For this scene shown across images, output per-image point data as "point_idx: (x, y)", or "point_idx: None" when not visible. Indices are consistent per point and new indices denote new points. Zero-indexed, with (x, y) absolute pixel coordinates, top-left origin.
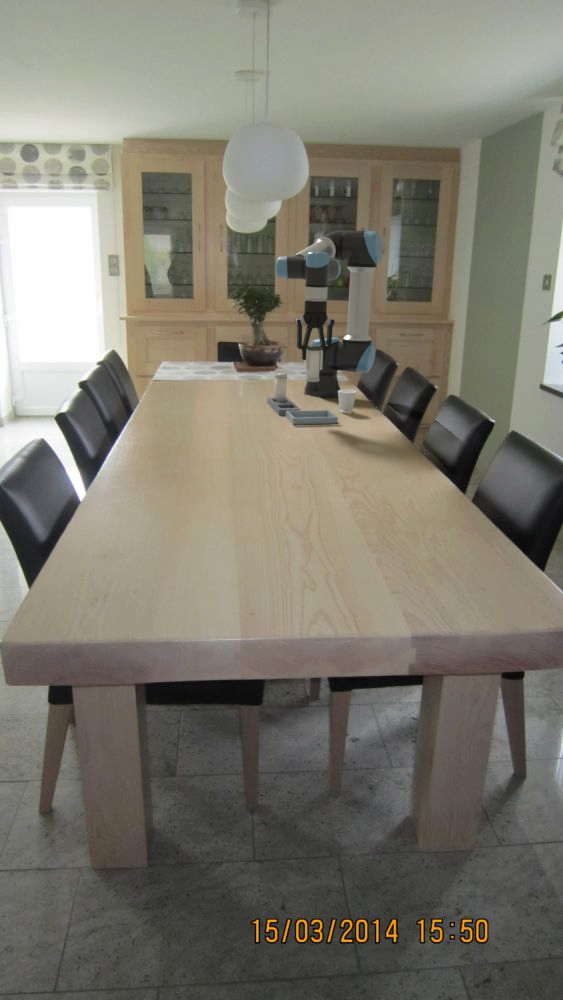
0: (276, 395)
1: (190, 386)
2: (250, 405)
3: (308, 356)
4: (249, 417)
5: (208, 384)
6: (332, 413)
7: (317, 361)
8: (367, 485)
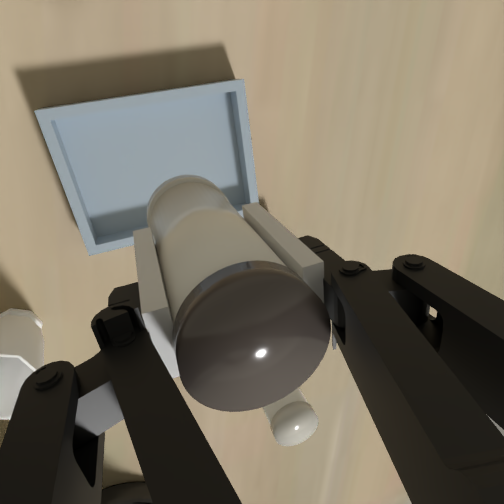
0: None
1: None
2: (331, 341)
3: (281, 243)
4: (359, 196)
5: (382, 493)
6: (67, 192)
7: (185, 231)
8: None
